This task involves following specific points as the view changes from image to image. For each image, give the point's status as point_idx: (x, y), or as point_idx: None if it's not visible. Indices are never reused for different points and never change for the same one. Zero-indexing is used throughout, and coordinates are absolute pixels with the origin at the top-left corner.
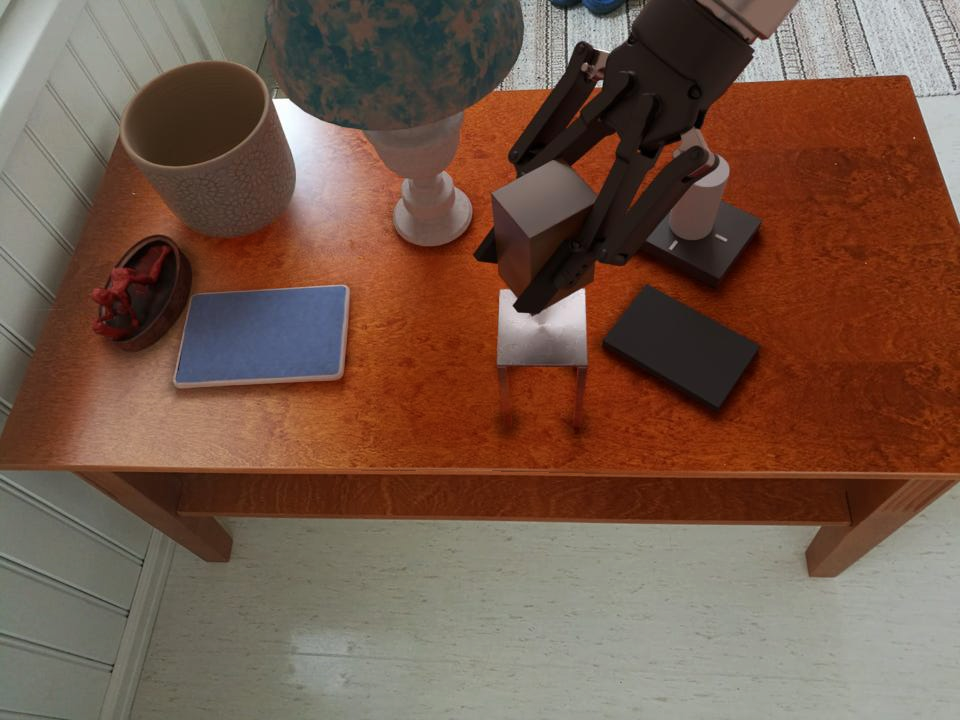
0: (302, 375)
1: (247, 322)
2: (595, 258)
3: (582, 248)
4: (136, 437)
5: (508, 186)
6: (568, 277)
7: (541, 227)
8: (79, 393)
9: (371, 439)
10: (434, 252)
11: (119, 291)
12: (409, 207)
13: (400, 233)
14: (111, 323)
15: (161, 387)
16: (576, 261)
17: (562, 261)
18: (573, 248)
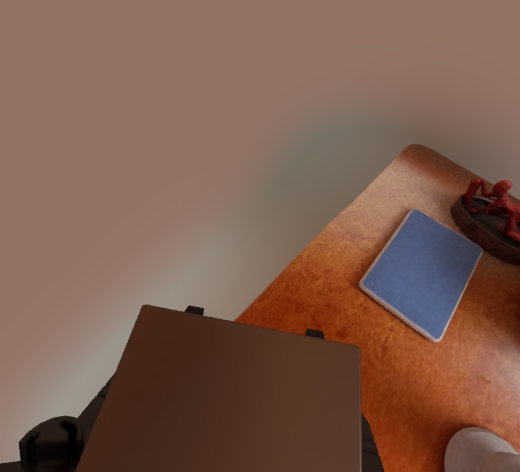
0: (375, 265)
1: (439, 262)
2: (7, 465)
3: (21, 441)
4: (391, 183)
5: (349, 417)
6: (104, 388)
7: (135, 363)
8: (436, 175)
9: (304, 274)
10: (439, 443)
11: (503, 200)
12: (508, 454)
13: (478, 428)
14: (480, 203)
15: (417, 205)
16: (85, 426)
17: None
18: (71, 430)
